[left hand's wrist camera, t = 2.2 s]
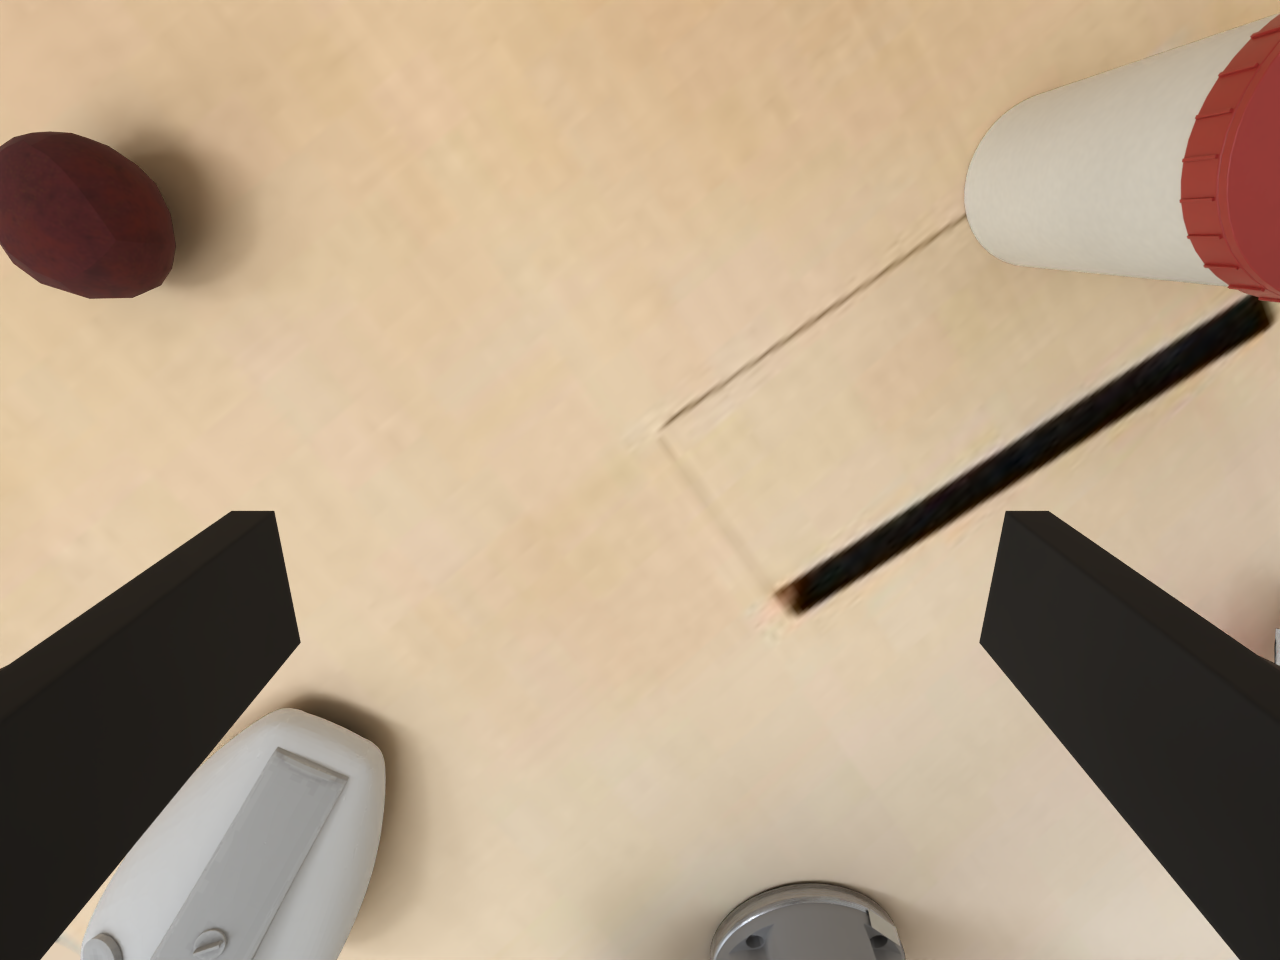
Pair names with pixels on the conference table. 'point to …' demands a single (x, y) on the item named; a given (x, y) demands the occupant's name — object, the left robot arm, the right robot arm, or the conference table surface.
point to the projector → (253, 852)
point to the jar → (1100, 168)
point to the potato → (82, 217)
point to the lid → (1238, 171)
